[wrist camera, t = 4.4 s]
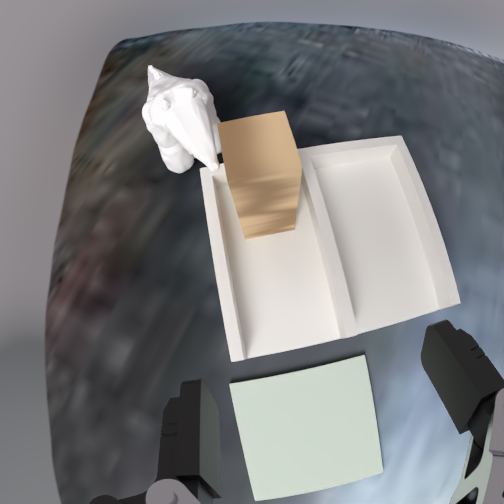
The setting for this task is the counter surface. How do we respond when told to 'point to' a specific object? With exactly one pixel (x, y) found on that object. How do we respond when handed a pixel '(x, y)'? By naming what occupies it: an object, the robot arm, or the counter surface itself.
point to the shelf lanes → (331, 252)
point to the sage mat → (308, 429)
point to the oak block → (262, 172)
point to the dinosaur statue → (182, 121)
